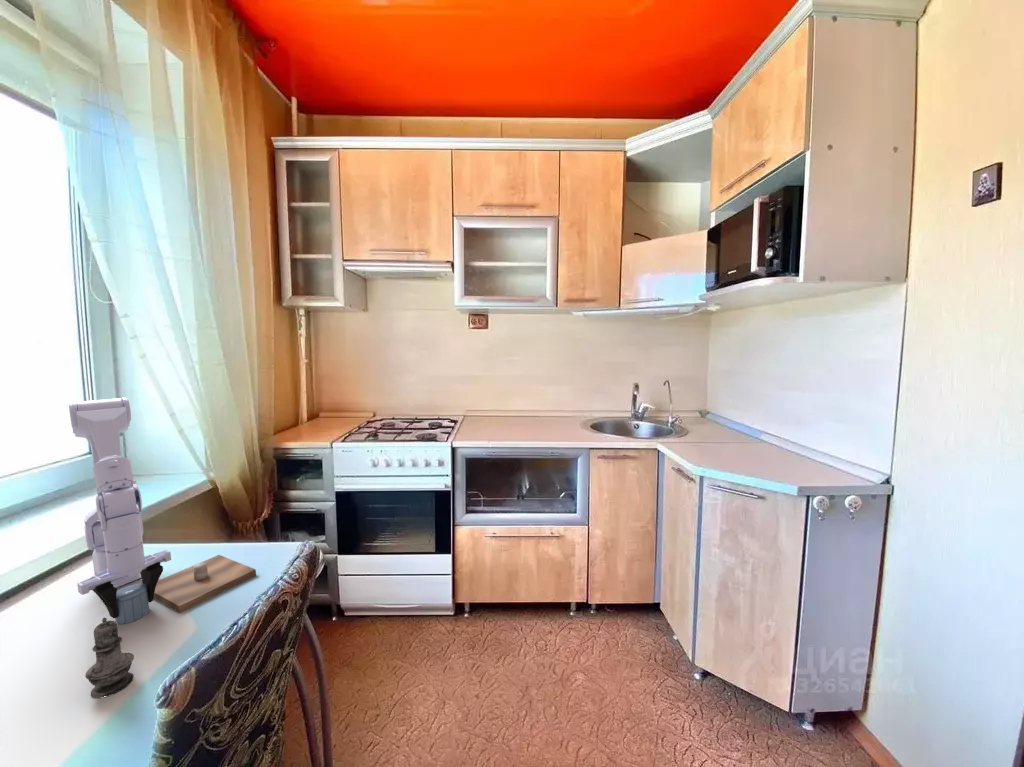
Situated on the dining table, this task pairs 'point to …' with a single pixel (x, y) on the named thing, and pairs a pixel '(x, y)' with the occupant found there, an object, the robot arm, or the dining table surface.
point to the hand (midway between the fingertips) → (131, 608)
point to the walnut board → (201, 582)
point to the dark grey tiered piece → (109, 662)
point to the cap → (132, 603)
